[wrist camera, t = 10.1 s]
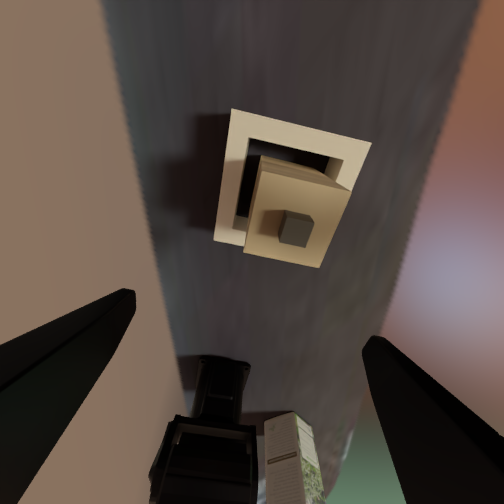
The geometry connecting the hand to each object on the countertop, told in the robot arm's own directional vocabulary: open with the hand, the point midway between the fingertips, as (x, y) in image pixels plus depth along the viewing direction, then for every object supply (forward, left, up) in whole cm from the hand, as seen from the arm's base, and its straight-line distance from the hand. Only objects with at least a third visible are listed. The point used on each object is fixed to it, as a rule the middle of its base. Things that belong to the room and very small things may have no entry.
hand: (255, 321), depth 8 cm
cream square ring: (+3, -1, -12) cm, 12 cm away
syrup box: (-32, -12, -12) cm, 36 cm away
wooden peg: (+3, -1, -12) cm, 12 cm away
